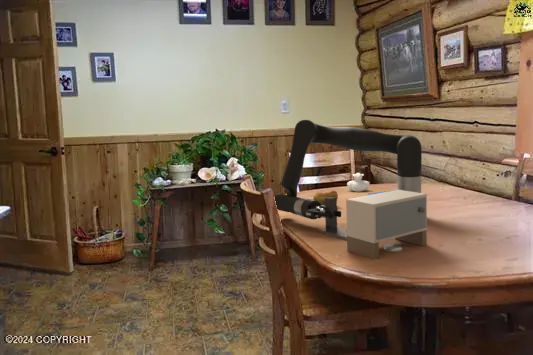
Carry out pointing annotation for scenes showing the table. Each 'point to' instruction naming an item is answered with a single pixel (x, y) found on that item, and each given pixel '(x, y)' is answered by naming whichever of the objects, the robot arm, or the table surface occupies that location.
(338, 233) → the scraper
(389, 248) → the steel token
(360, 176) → the white animal figurine
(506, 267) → the table surface
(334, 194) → the bread roll
